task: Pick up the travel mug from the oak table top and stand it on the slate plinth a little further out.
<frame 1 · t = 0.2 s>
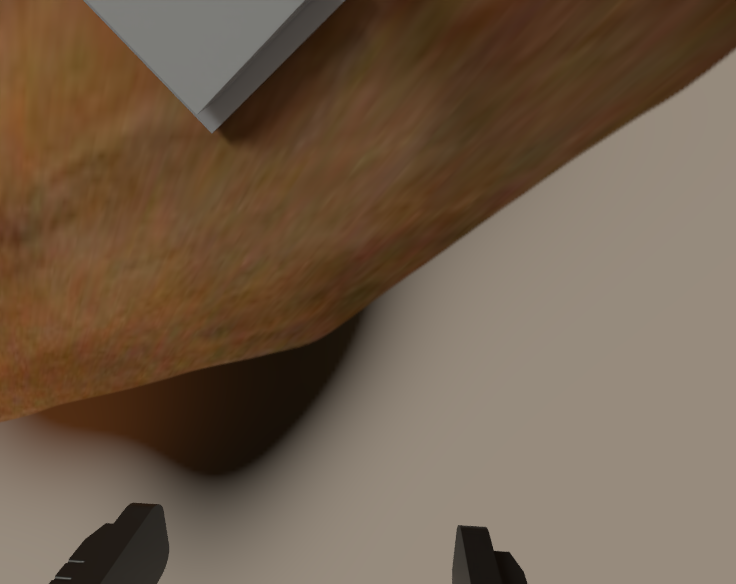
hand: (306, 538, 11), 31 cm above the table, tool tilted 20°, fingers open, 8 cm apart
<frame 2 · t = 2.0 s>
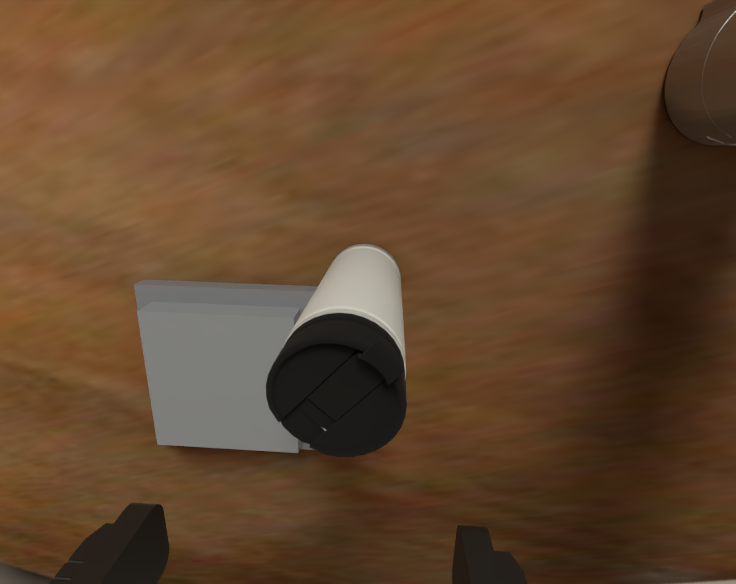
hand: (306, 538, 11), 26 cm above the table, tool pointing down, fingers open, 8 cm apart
travel mug: (366, 276, 36), on the table
slate plinth: (237, 363, 40), on the table
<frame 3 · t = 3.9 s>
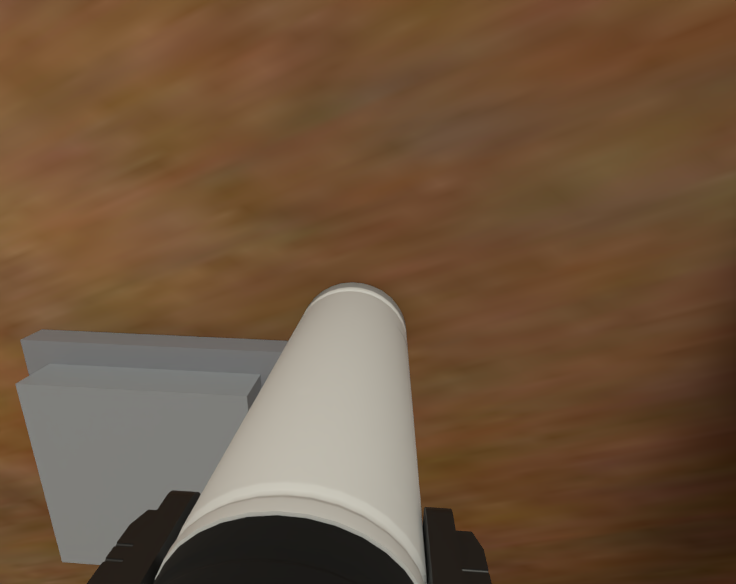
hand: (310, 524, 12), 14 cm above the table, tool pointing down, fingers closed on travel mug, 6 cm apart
travel mug: (356, 327, 25), on the table, touching gripper
slate plinth: (179, 443, 28), on the table
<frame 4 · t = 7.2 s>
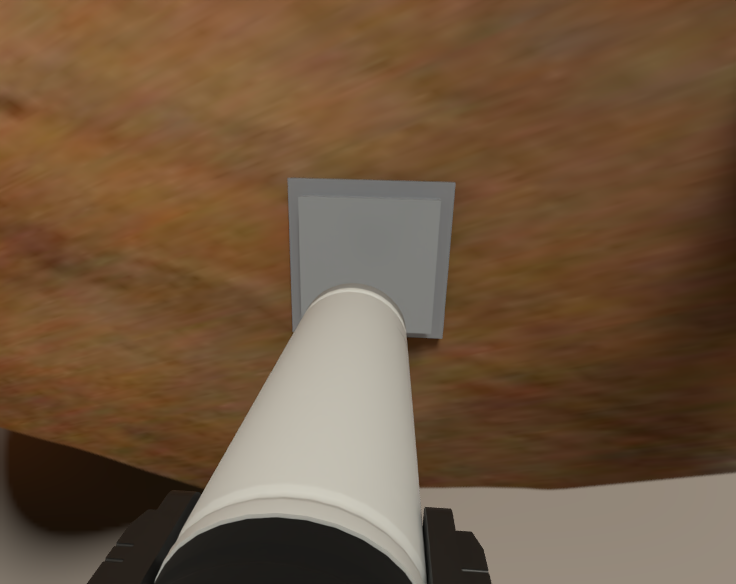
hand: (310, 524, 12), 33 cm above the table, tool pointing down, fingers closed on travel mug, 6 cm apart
travel mug: (356, 328, 25), point 19 cm above the table, touching gripper
slate plinth: (369, 258, 44), on the table
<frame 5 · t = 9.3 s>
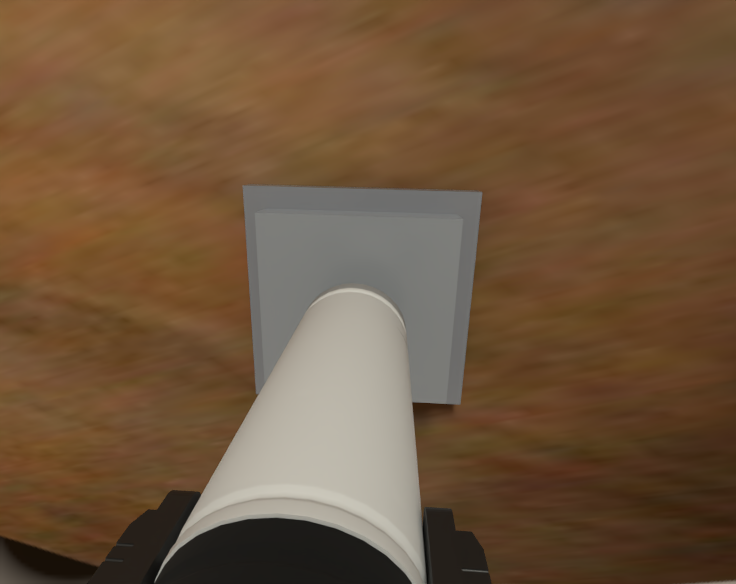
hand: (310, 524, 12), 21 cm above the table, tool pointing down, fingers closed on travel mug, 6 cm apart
travel mug: (356, 328, 25), point 7 cm above the table, touching gripper
slate plinth: (360, 295, 32), on the table
when the fingers open (19 cm above the table, at t = 10.8 s): travel mug stays where it is, resting on slate plinth.
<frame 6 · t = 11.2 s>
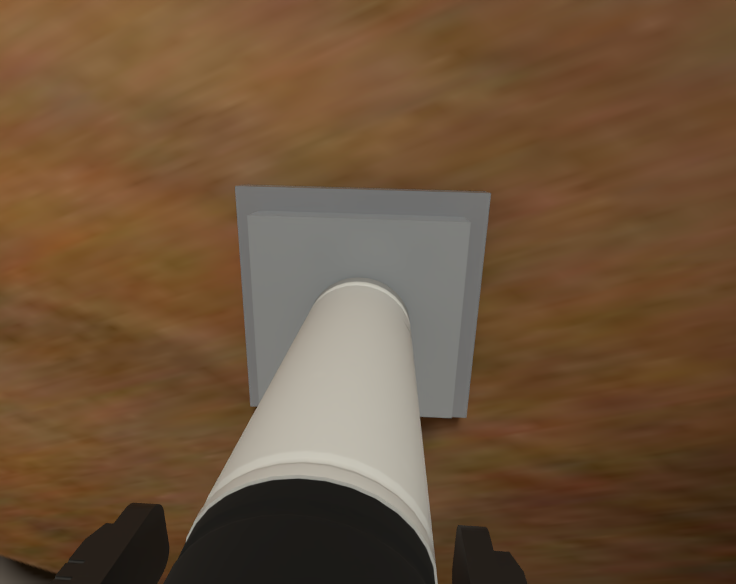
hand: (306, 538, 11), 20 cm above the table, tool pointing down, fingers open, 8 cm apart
travel mug: (361, 321, 26), point 4 cm above the table, touching slate plinth
slate plinth: (360, 302, 30), on the table
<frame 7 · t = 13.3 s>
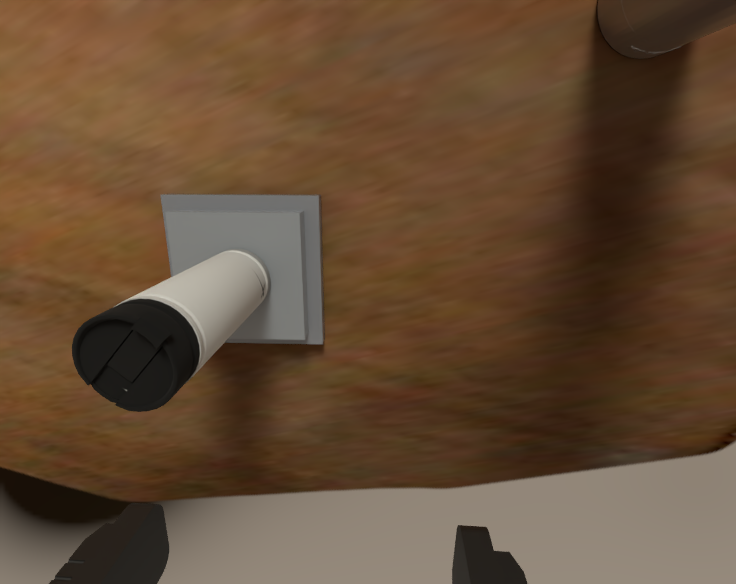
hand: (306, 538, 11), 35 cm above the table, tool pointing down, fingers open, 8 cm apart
travel mug: (241, 277, 42), point 4 cm above the table, touching slate plinth
slate plinth: (249, 269, 45), on the table
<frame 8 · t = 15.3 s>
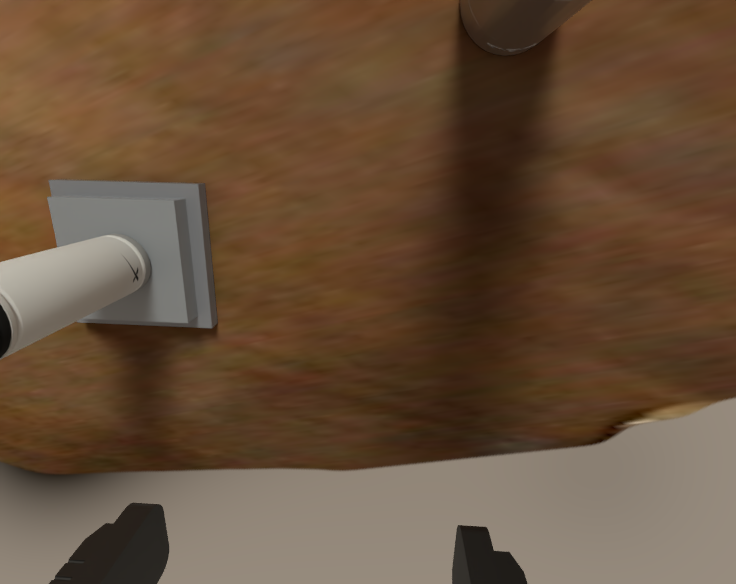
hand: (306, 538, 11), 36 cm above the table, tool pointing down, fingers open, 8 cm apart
travel mug: (124, 261, 43), point 4 cm above the table, touching slate plinth
slate plinth: (142, 254, 47), on the table
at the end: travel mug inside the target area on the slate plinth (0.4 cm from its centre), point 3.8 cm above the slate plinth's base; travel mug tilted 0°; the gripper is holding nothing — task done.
